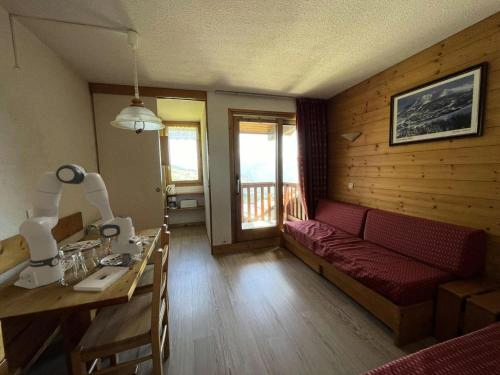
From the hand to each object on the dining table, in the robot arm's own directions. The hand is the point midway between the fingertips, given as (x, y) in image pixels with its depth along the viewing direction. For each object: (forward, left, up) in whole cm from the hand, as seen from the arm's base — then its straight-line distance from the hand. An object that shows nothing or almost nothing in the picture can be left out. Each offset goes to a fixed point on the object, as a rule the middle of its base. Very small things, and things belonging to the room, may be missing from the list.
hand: (127, 259), depth 142 cm
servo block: (0, 0, -3) cm, 3 cm away
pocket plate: (-2, -19, -3) cm, 19 cm away
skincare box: (-17, +27, -3) cm, 32 cm away
